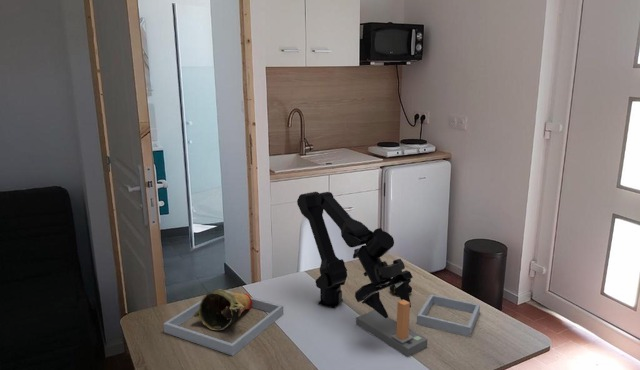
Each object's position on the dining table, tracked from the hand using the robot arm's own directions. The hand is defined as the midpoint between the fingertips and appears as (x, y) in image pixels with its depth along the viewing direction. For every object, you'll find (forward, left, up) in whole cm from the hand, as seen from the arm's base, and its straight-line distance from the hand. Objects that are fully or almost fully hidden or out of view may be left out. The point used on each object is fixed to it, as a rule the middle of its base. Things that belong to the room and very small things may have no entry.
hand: (398, 312), depth 133 cm
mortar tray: (-51, -14, -10) cm, 54 cm away
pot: (-51, -13, -10) cm, 54 cm away
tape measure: (-10, +32, -10) cm, 35 cm away
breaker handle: (+2, -1, -7) cm, 7 cm away
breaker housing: (-3, +3, -10) cm, 11 cm away
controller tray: (+10, +21, -10) cm, 25 cm away
